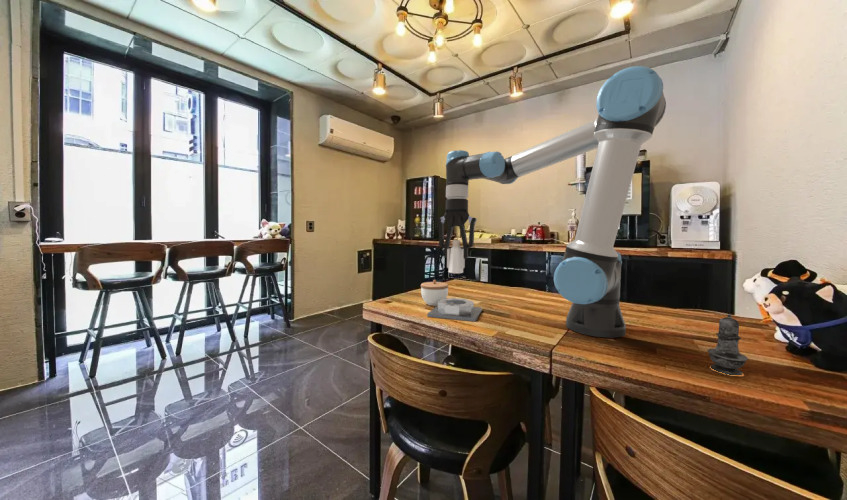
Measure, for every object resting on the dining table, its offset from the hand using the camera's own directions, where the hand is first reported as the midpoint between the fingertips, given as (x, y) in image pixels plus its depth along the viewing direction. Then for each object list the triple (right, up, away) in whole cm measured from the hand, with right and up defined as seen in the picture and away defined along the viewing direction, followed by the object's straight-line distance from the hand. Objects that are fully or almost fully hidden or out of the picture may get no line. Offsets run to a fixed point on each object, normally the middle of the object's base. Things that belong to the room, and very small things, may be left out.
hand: (455, 267), depth 104 cm
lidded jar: (-7, -15, +15) cm, 22 cm away
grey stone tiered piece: (+51, -19, -42) cm, 69 cm away
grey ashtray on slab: (0, -16, +1) cm, 16 cm away
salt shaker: (0, -2, 0) cm, 2 cm away
